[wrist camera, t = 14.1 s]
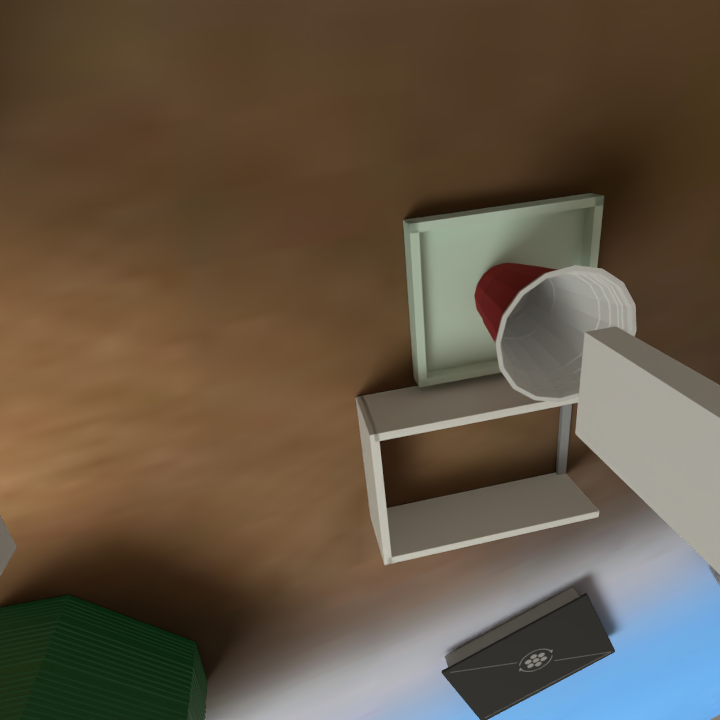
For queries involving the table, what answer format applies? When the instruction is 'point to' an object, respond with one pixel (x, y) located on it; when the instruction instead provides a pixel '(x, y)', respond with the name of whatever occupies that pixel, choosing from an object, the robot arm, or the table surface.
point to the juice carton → (715, 575)
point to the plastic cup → (549, 322)
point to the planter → (94, 665)
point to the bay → (470, 508)
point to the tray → (474, 258)
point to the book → (528, 654)
